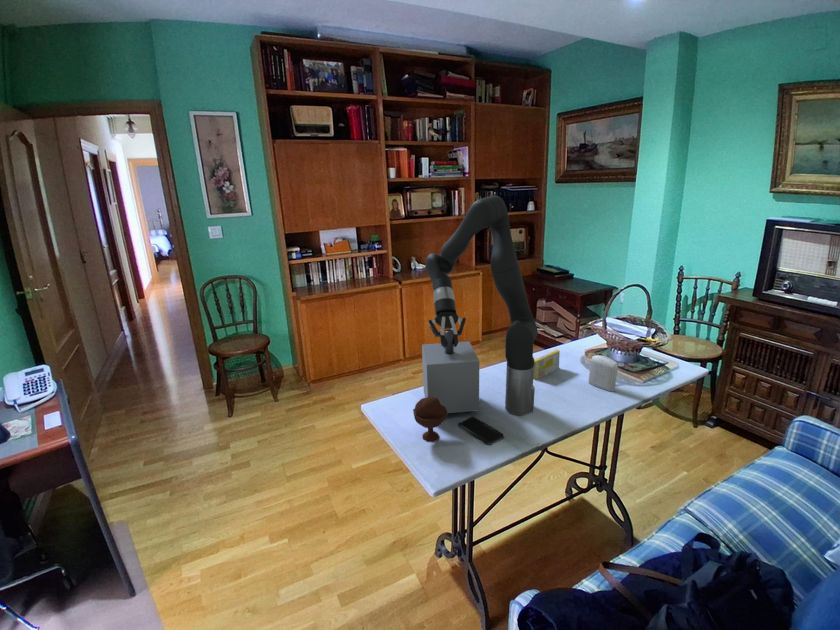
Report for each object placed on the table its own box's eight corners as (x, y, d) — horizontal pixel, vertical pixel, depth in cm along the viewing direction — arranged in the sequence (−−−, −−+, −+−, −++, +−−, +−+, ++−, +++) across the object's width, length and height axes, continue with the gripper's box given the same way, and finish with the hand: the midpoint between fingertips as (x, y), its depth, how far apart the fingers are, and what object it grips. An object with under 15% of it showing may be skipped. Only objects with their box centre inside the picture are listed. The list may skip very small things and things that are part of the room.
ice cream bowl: (453, 432, 143) (452, 391, 138) (436, 450, 134) (436, 408, 129) (425, 424, 148) (423, 384, 144) (407, 441, 139) (405, 399, 134)
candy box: (555, 367, 188) (556, 349, 185) (559, 368, 186) (560, 350, 183) (531, 378, 178) (532, 360, 176) (535, 380, 177) (536, 361, 174)
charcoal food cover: (469, 386, 167) (469, 321, 159) (479, 410, 151) (479, 338, 142) (423, 390, 166) (421, 324, 157) (428, 414, 149) (425, 342, 141)
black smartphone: (488, 444, 135) (456, 423, 147) (488, 447, 136) (456, 426, 147) (506, 435, 140) (473, 415, 151) (505, 438, 140) (473, 418, 151)
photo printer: (617, 389, 168) (620, 359, 164) (611, 392, 165) (614, 363, 161) (592, 380, 175) (595, 351, 171) (586, 383, 173) (589, 354, 169)
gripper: (425, 298, 153) (430, 343, 145) (465, 296, 154) (471, 340, 146) (424, 308, 160) (429, 351, 152) (462, 305, 161) (468, 349, 153)
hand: (450, 346), depth 149 cm, fingers closed on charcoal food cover, 3 cm apart
